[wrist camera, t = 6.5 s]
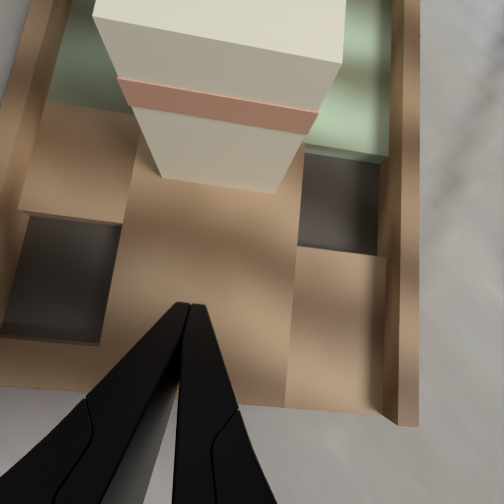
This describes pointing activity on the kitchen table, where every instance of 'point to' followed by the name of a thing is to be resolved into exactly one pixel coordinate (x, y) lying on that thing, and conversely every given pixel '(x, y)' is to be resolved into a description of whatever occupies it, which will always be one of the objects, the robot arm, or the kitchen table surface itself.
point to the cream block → (224, 81)
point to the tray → (214, 228)
